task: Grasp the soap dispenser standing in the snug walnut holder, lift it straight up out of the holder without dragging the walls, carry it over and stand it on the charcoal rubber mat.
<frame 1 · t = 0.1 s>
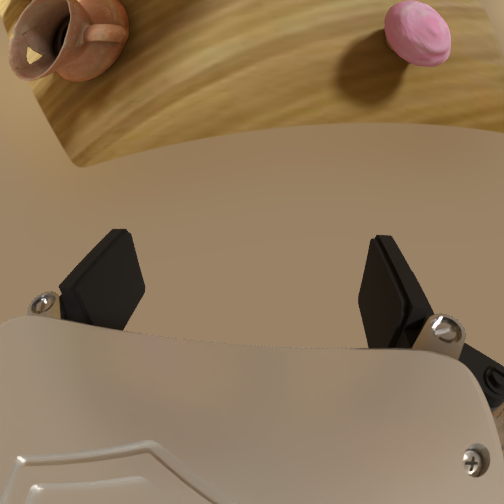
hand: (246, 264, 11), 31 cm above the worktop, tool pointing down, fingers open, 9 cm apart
cupcake: (399, 39, 27), on the worktop
ceramic jug: (100, 39, 31), on the worktop
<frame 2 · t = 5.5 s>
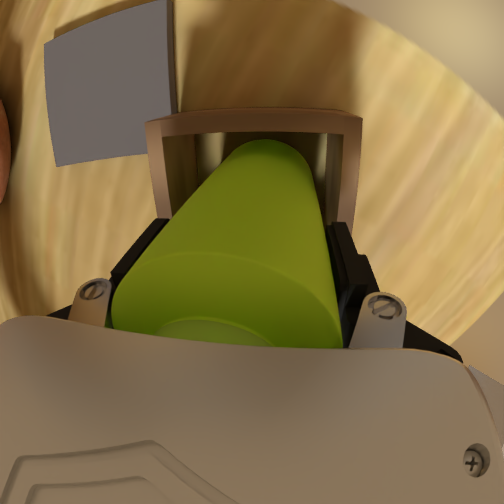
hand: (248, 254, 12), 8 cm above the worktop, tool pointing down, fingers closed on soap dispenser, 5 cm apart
mat: (106, 86, 15), on the worktop
soap dispenser: (261, 190, 18), resting in holder, touching gripper
holder: (260, 191, 18), on the worktop
when the fingers open (9 cm above the worktop, at t = 14.0 s): soap dispenser stays where it is, resting on mat.
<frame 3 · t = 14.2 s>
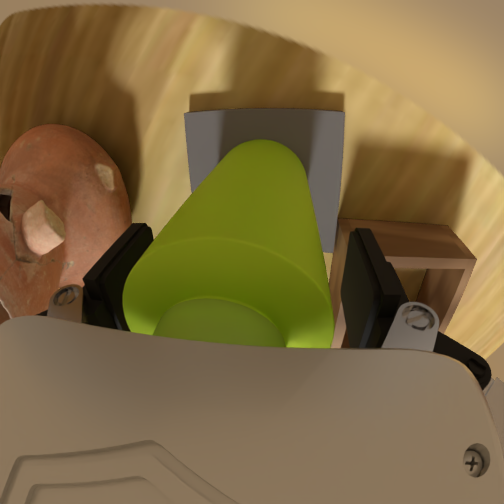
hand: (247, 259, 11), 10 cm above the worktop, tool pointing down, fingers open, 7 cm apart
mat: (265, 180, 20), on the worktop
ceramic jug: (73, 199, 22), on the worktop
soap dispenser: (257, 188, 19), point 1 cm above the worktop, touching mat
holder: (384, 278, 23), on the worktop
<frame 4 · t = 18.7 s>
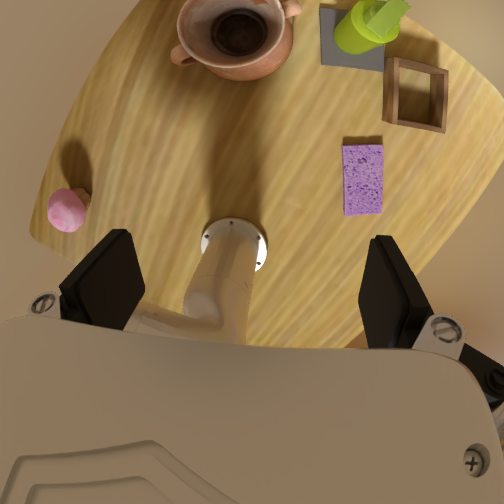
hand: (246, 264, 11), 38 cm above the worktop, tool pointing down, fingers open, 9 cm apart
cupcake: (84, 197, 54), on the worktop
mat: (351, 39, 34), on the worktop
ceramic jug: (242, 41, 36), on the worktop
soap dispenser: (350, 39, 33), point 1 cm above the worktop, touching mat
holder: (409, 94, 37), on the worktop
sponges: (361, 178, 47), on the worktop
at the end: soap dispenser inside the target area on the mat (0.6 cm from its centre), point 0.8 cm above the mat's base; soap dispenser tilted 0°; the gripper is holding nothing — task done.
